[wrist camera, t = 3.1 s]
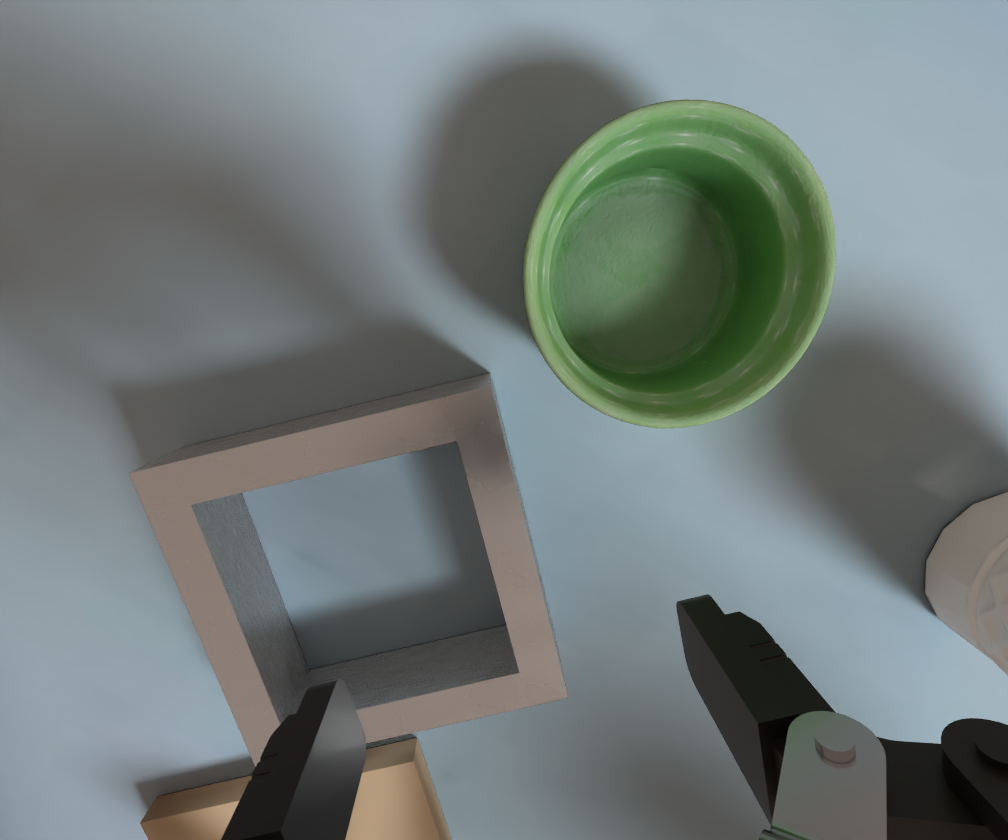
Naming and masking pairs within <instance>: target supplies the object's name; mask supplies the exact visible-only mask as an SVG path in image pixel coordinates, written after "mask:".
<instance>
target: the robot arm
mask: <svg viewBox="0 0 1008 840" xmlns="http://www.w3.org/2000/svg"><path fill="white" fill-rule="evenodd" d="M676 606H677V613H678V619H679V625H680V630H681V636H682V642H683V647H684V653H685V658H686V662H687V666H688V669H689V672H690V675H691V677H692V680H693V682H694V684H695V686H696V688H697V690H698V692H699V694H700V696H701V697H702V699H703V701H704V703H705V705H706V707H707V708H708V710H709V712H710V714H711V716H712V718H713V720H714V721H715V723H716V725H717V727H718V729H719V731H720V732H721V734H722V736H723V738H724V740H725V742H726V743H727V745H728V747H729V749H730V751H731V753H732V754H733V756H734V758H735V760H736V762H737V764H738V766H739V767H740V769H741V771H742V773H743V775H744V777H745V778H746V780H747V782H748V784H749V786H750V788H751V789H752V791H753V793H754V795H755V797H756V799H757V801H758V802H759V804H760V806H761V808H762V810H763V812H764V813H765V815H766V817H767V819H768V821H769V823H770V824H771V828H770V831H767V830H763V831H762V833H761V835H760V838H759V840H1008V725H1006V724H1003V723H1000V722H995V721H991V720H985V719H974V718H969V719H961V720H957V721H954V722H952V723H950V724H949V725H948V726H946V727H945V729H944V730H943V732H942V736H941V744H933V743H918V742H902V741H893V740H887V739H883V738H879V737H876V736H875V734H874V733H873V732H871V731H870V730H869V729H868V728H867V727H866V726H864V725H863V724H861V723H860V722H858V721H856V720H854V719H852V718H850V717H848V716H845V715H842V714H839V713H836V712H835V711H834V710H833V709H832V708H831V707H830V706H829V704H828V703H827V702H826V701H825V700H824V699H823V697H822V696H821V695H820V694H819V693H818V691H817V690H816V689H815V688H814V687H813V685H812V684H811V683H810V682H809V681H808V680H807V678H806V677H805V676H804V675H803V674H802V672H801V671H800V670H799V669H798V668H797V667H796V665H795V664H794V663H793V662H792V661H791V659H790V658H787V656H786V653H785V652H784V651H783V650H782V649H781V648H780V646H779V645H778V644H776V643H775V641H774V639H773V638H772V637H771V636H770V634H769V633H768V632H767V631H766V630H765V629H764V627H763V626H762V625H761V624H760V623H758V622H757V621H755V620H753V619H752V618H750V617H748V616H746V615H745V614H743V613H741V612H735V613H731V614H726V615H725V614H724V613H723V612H722V610H721V609H720V608H719V606H718V605H717V604H716V602H715V601H714V600H713V598H712V597H711V596H710V595H703V596H699V597H695V598H691V599H686V600H682V601H678V602H677V605H676ZM365 758H366V740H365V734H364V730H363V727H362V724H361V722H360V719H359V716H358V714H357V711H356V708H355V705H354V703H353V700H352V697H351V695H350V692H349V689H348V687H347V684H346V683H345V681H344V680H342V679H339V680H335V681H331V682H327V683H322V684H318V685H314V686H310V687H309V688H308V689H307V690H306V692H305V695H304V697H303V699H302V701H301V704H300V706H299V708H298V710H297V713H296V714H292V715H288V716H287V717H286V719H285V720H284V721H283V722H282V723H281V724H280V726H279V727H278V728H277V729H276V730H275V731H274V733H273V734H272V735H271V736H270V738H269V740H268V742H267V744H266V747H265V749H264V751H263V753H262V755H261V757H260V762H258V763H257V765H256V767H255V770H254V772H253V774H252V779H251V780H250V781H249V782H248V784H247V786H246V788H245V790H244V792H243V795H242V797H241V799H240V801H239V803H238V805H237V807H236V809H235V811H234V813H233V815H232V818H231V820H230V822H229V824H228V826H227V828H226V830H225V832H224V834H223V836H222V838H221V840H345V839H346V835H347V831H348V827H349V823H350V819H351V815H352V811H353V807H354V803H355V799H356V795H357V791H358V787H359V783H360V779H361V775H362V771H363V767H364V763H365Z"/></svg>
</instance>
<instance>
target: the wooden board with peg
mask: <svg viewBox="0 0 1008 840" xmlns="http://www.w3.org/2000/svg"><path fill="white" fill-rule="evenodd" d="M251 779H252V775H251V776H246V777H242V778H237V779H233V780H229V781H224V782H220V783H215V784H211V785H207V786H202V787H198V788H193V789H189V790H184V791H180V792H176V793H171V794H167V795H162V796H158V797H157V798H156V800H155V801H154V803H153V804H152V806H151V807H150V809H149V810H148V812H147V813H146V815H145V816H144V818H143V819H142V821H141V822H140V824H141V826H142V828H143V830H144V832H145V834H146V836H147V838H148V840H221V838H222V836H223V834H224V832H225V830H226V828H227V826H228V824H229V822H230V820H231V818H232V815H233V813H234V811H235V809H236V807H237V805H238V803H239V801H240V799H241V797H242V795H243V792H244V790H245V788H246V786H247V784H248V782H249V781H250V780H251ZM345 840H451V837H450V834H449V831H448V828H447V825H446V822H445V819H444V816H443V813H442V810H441V807H440V804H439V801H438V798H437V795H436V792H435V789H434V786H433V783H432V780H431V777H430V774H429V771H428V768H427V765H426V762H425V759H424V756H423V753H422V750H421V747H420V744H419V741H418V739H417V738H414V739H410V740H405V741H401V742H396V743H392V744H388V745H383V746H379V747H374V748H370V749H366V758H365V763H364V767H363V771H362V775H361V779H360V783H359V787H358V791H357V795H356V799H355V803H354V807H353V811H352V815H351V819H350V823H349V827H348V831H347V835H346V839H345Z"/></svg>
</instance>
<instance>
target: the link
mask: <svg viewBox="0 0 1008 840" xmlns="http://www.w3.org/2000/svg"><path fill="white" fill-rule="evenodd" d="M456 441H457V443H458V447H459V451H460V454H461V458H462V462H463V465H464V469H465V473H466V477H467V480H468V484H469V488H470V491H471V495H472V499H473V502H474V506H475V510H476V514H477V517H478V521H479V525H480V528H481V532H482V536H483V540H484V543H485V547H486V551H487V554H488V558H489V562H490V565H491V569H492V573H493V577H494V580H495V584H496V588H497V591H498V595H499V599H500V603H501V606H502V610H503V614H504V617H505V621H506V625H503V626H499V627H494V628H490V629H485V630H481V631H477V632H472V633H468V634H464V635H459V636H455V637H451V638H446V639H442V640H438V641H433V642H429V643H425V644H420V645H416V646H412V647H407V648H403V649H399V650H394V651H390V652H386V653H381V654H377V655H373V656H368V657H364V658H360V659H355V660H351V661H347V662H342V663H338V664H334V665H329V666H325V667H321V668H316V669H312V670H308V667H307V665H306V662H305V659H304V657H303V654H302V651H301V649H300V646H299V644H298V641H297V638H296V636H295V633H294V630H293V628H292V625H291V623H290V620H289V617H288V615H287V612H286V609H285V607H284V604H283V602H282V599H281V596H280V594H279V591H278V588H277V586H276V583H275V581H274V578H273V575H272V573H271V570H270V567H269V565H268V562H267V560H266V557H265V554H264V552H263V549H262V546H261V544H260V541H259V539H258V536H257V533H256V531H255V528H254V525H253V523H252V520H251V518H250V515H249V512H248V510H247V507H246V504H245V502H244V499H243V497H242V494H241V493H243V492H247V491H251V490H255V489H259V488H264V487H268V486H272V485H276V484H280V483H284V482H289V481H293V480H297V479H301V478H305V477H309V476H314V475H318V474H322V473H326V472H330V471H335V470H339V469H343V468H347V467H351V466H355V465H360V464H364V463H368V462H372V461H376V460H381V459H385V458H389V457H393V456H397V455H401V454H406V453H410V452H414V451H418V450H422V449H426V448H431V447H435V446H439V445H443V444H447V443H452V442H456ZM129 475H130V477H131V480H132V482H133V484H134V486H135V489H136V491H137V493H138V496H139V498H140V500H141V503H142V505H143V507H144V510H145V512H146V514H147V517H148V519H149V521H150V524H151V526H152V528H153V531H154V533H155V535H156V538H157V540H158V542H159V544H160V547H161V549H162V551H163V554H164V556H165V558H166V561H167V563H168V565H169V568H170V570H171V572H172V575H173V577H174V579H175V582H176V584H177V586H178V589H179V591H180V593H181V596H182V598H183V600H184V602H185V605H186V607H187V609H188V612H189V614H190V616H191V619H192V621H193V623H194V626H195V628H196V630H197V633H198V635H199V637H200V640H201V642H202V644H203V647H204V649H205V651H206V654H207V656H208V658H209V660H210V663H211V665H212V667H213V670H214V672H215V674H216V677H217V679H218V681H219V684H220V686H221V688H222V691H223V693H224V695H225V698H226V700H227V702H228V705H229V707H230V709H231V712H232V714H233V716H234V718H235V721H236V723H237V725H238V728H239V730H240V732H241V735H242V737H243V739H244V742H245V744H246V746H247V749H248V751H249V753H250V756H251V758H252V760H253V763H254V765H255V767H256V765H257V763H258V762H260V757H261V755H262V753H263V751H264V749H265V747H266V744H267V742H268V740H269V738H270V736H271V735H272V734H273V733H274V731H275V730H276V729H277V728H278V727H279V726H280V724H281V723H282V722H283V721H284V720H285V719H286V717H287V716H288V715H292V714H296V713H297V710H298V708H299V706H300V704H301V701H302V699H303V697H304V695H305V692H306V690H307V689H308V688H309V687H310V686H314V685H318V684H322V683H327V682H331V681H335V680H339V679H342V680H344V681H345V683H346V684H347V687H348V689H349V692H350V695H351V697H352V700H353V703H354V705H355V708H356V711H357V714H358V716H359V719H360V722H361V724H362V727H363V730H364V734H365V740H366V743H370V742H375V741H379V740H384V739H388V738H392V737H397V736H401V735H406V734H410V733H414V732H419V731H423V730H428V729H432V728H436V727H441V726H445V725H450V724H454V723H458V722H463V721H467V720H472V719H476V718H481V717H485V716H489V715H494V714H498V713H503V712H507V711H511V710H516V709H520V708H525V707H529V706H533V705H538V704H542V703H547V702H551V701H555V700H560V699H564V698H568V695H567V690H566V685H565V680H564V675H563V670H562V665H561V660H560V655H559V651H558V646H557V641H556V637H555V633H554V629H553V625H552V621H551V617H550V613H549V609H548V605H547V601H546V597H545V593H544V589H543V585H542V581H541V576H540V572H539V568H538V564H537V560H536V556H535V552H534V548H533V544H532V540H531V536H530V532H529V528H528V524H527V520H526V516H525V512H524V507H523V503H522V499H521V495H520V491H519V487H518V483H517V479H516V475H515V471H514V467H513V463H512V459H511V455H510V451H509V447H508V443H507V438H506V434H505V430H504V426H503V422H502V418H501V414H500V410H499V406H498V402H497V398H496V394H495V390H494V386H493V382H492V378H491V373H487V374H483V375H479V376H475V377H471V378H467V379H462V380H458V381H454V382H450V383H446V384H442V385H438V386H434V387H429V388H425V389H421V390H417V391H413V392H409V393H405V394H400V395H396V396H392V397H388V398H384V399H380V400H376V401H372V402H367V403H363V404H359V405H355V406H351V407H347V408H343V409H339V410H334V411H330V412H326V413H322V414H318V415H314V416H310V417H305V418H301V419H297V420H293V421H289V422H285V423H281V424H277V425H272V426H268V427H264V428H260V429H256V430H252V431H248V432H243V433H239V434H235V435H231V436H227V437H223V438H219V439H215V440H210V441H206V442H202V443H198V444H194V445H190V446H186V447H182V448H180V449H178V450H176V451H174V452H172V453H170V454H167V455H165V456H163V457H161V458H159V459H157V460H155V461H153V462H151V463H149V464H147V465H145V466H143V467H141V468H139V469H137V470H135V471H133V472H130V473H129Z"/></svg>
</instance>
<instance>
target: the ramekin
mask: <svg viewBox="0 0 1008 840" xmlns="http://www.w3.org/2000/svg"><path fill="white" fill-rule="evenodd" d="M835 262H836V239H835V229H834V222H833V216H832V212H831V208H830V205H829V201H828V198H827V195H826V193H825V190H824V187H823V185H822V182H821V181H820V179H819V178H818V176H817V174H816V172H815V170H814V168H813V167H812V165H811V163H810V162H809V160H808V159H807V158H806V156H805V155H804V154H803V153H802V151H801V150H800V149H799V148H798V147H797V145H796V144H795V143H794V142H793V141H792V140H791V139H790V138H789V137H788V136H787V135H786V134H785V133H783V132H782V131H781V130H779V129H778V128H777V127H776V126H774V125H773V124H771V123H770V122H768V121H767V120H765V119H763V118H761V117H759V116H757V115H755V114H753V113H750V112H748V111H746V110H744V109H741V108H738V107H735V106H732V105H728V104H724V103H719V102H713V101H706V100H673V101H666V102H661V103H656V104H652V105H649V106H645V107H642V108H639V109H636V110H634V111H631V112H629V113H626V114H624V115H622V116H620V117H618V118H616V119H614V120H612V121H611V122H609V123H607V124H606V125H604V126H602V127H601V128H600V129H598V130H597V131H596V132H595V133H593V134H592V135H591V136H589V137H588V138H587V139H586V140H585V141H584V142H582V143H581V144H580V145H579V146H578V147H577V148H576V149H575V150H574V151H573V152H572V153H571V155H570V156H569V157H568V158H567V159H566V160H565V161H564V162H563V164H562V165H561V167H560V168H559V169H558V171H557V172H556V174H555V175H554V177H553V178H552V180H551V181H550V183H549V185H548V186H547V188H546V190H545V192H544V194H543V196H542V198H541V200H540V203H539V205H538V207H537V210H536V212H535V215H534V218H533V220H532V223H531V227H530V230H529V234H528V238H527V242H526V247H525V253H524V261H523V293H524V302H525V308H526V314H527V318H528V321H529V325H530V328H531V331H532V334H533V337H534V339H535V342H536V344H537V346H538V348H539V350H540V352H541V354H542V356H543V357H544V359H545V361H546V362H547V364H548V365H549V367H550V368H551V370H552V371H553V372H554V374H555V375H556V376H557V377H558V379H559V380H560V381H561V382H562V383H563V384H564V385H565V386H566V387H567V388H568V389H569V390H570V391H571V392H572V393H573V394H575V395H576V396H577V397H578V398H579V399H581V400H582V401H583V402H585V403H586V404H588V405H589V406H591V407H592V408H594V409H596V410H598V411H600V412H602V413H603V414H606V415H608V416H610V417H613V418H615V419H618V420H621V421H624V422H627V423H631V424H635V425H640V426H646V427H653V428H681V427H689V426H695V425H701V424H705V423H709V422H712V421H715V420H718V419H721V418H724V417H726V416H728V415H730V414H733V413H735V412H738V411H740V410H741V409H743V408H745V407H747V406H749V405H751V404H752V403H753V402H755V401H756V400H758V399H759V398H761V397H762V396H764V395H765V394H766V393H768V392H769V391H770V390H771V389H772V388H774V387H775V386H776V385H777V384H778V383H779V382H780V381H781V380H782V379H783V378H784V377H785V376H786V375H787V374H788V373H789V372H790V370H791V369H792V368H793V367H794V366H795V364H796V363H797V362H798V361H799V359H800V358H801V357H802V355H803V354H804V352H805V350H806V349H807V347H808V346H809V344H810V343H811V341H812V339H813V338H814V336H815V334H816V332H817V330H818V328H819V326H820V323H821V322H822V319H823V316H824V313H825V311H826V309H827V306H828V301H829V298H830V295H831V291H832V287H833V281H834V273H835Z"/></svg>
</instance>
